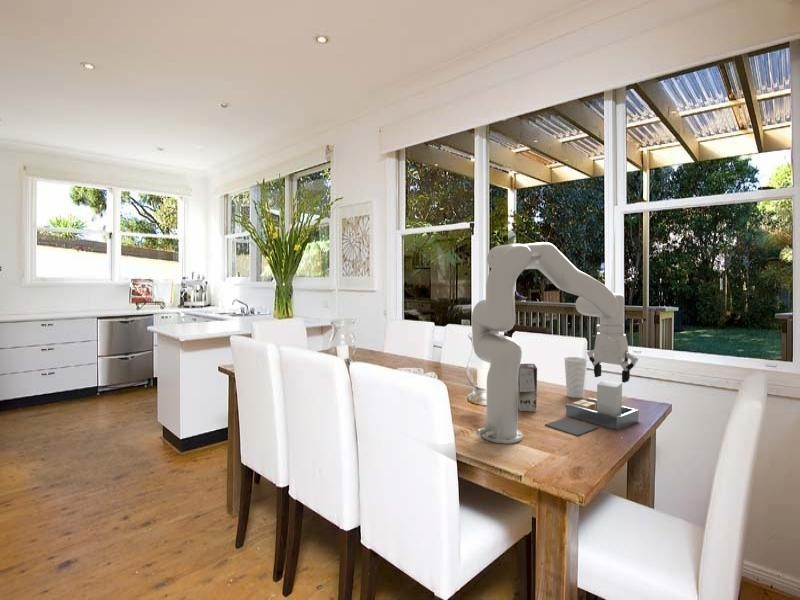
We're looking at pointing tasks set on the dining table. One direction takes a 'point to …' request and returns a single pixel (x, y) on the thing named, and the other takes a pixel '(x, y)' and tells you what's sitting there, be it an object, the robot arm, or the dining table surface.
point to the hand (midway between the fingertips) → (611, 379)
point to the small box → (609, 398)
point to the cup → (575, 376)
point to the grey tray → (603, 416)
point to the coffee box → (527, 387)
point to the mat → (572, 426)
